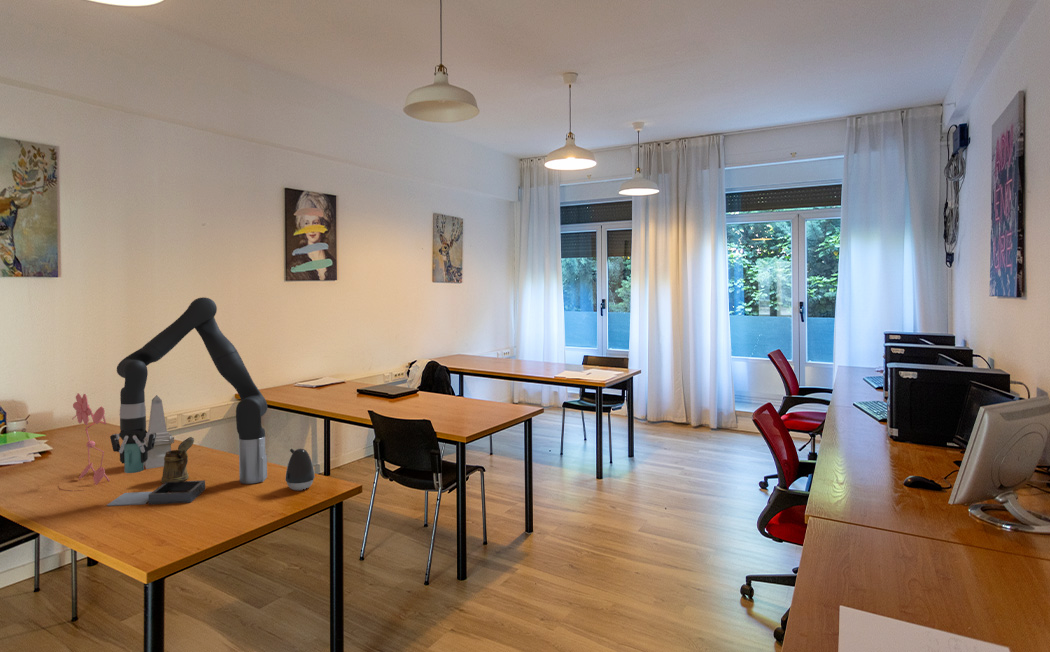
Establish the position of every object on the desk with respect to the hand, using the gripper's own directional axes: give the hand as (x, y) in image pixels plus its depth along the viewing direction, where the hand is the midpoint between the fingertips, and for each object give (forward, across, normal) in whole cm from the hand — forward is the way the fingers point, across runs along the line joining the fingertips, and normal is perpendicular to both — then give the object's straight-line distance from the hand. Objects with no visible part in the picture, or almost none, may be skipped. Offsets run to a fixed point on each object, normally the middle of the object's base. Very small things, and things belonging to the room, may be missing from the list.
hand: (133, 462), depth 198 cm
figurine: (+13, +27, -20) cm, 36 cm away
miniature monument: (+13, +10, -43) cm, 46 cm away
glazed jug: (+3, 0, 0) cm, 3 cm away
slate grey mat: (+13, 0, 0) cm, 13 cm away
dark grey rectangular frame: (+13, -14, 0) cm, 19 cm away
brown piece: (+13, -7, -19) cm, 24 cm away
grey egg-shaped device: (+13, -55, -3) cm, 57 cm away
